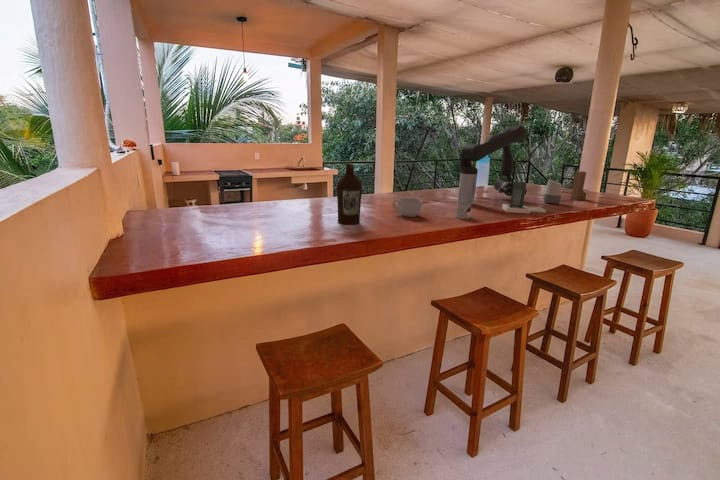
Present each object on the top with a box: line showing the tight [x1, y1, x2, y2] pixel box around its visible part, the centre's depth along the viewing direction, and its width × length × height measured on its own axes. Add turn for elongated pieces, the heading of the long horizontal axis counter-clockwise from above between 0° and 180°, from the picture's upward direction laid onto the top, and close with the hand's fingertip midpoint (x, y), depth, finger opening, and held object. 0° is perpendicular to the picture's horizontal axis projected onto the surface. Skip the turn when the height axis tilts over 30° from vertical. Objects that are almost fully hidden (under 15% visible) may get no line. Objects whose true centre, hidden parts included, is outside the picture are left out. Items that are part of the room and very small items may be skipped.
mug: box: [455, 202, 472, 220], centre depth 177 cm, size 10×7×7 cm, turn 160°
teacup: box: [392, 197, 423, 218], centre depth 176 cm, size 14×11×8 cm
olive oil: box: [336, 163, 363, 226], centre depth 156 cm, size 11×11×25 cm
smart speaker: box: [543, 179, 563, 205], centre depth 219 cm, size 10×9×14 cm
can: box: [509, 181, 527, 209], centre depth 194 cm, size 6×6×15 cm
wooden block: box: [570, 170, 588, 201], centre depth 236 cm, size 9×4×18 cm, turn 115°
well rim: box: [501, 203, 532, 214], centre depth 196 cm, size 12×12×2 cm
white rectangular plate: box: [525, 205, 547, 214], centre depth 199 cm, size 8×10×1 cm
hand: (515, 192), depth 200 cm, fingers open, 8 cm apart
